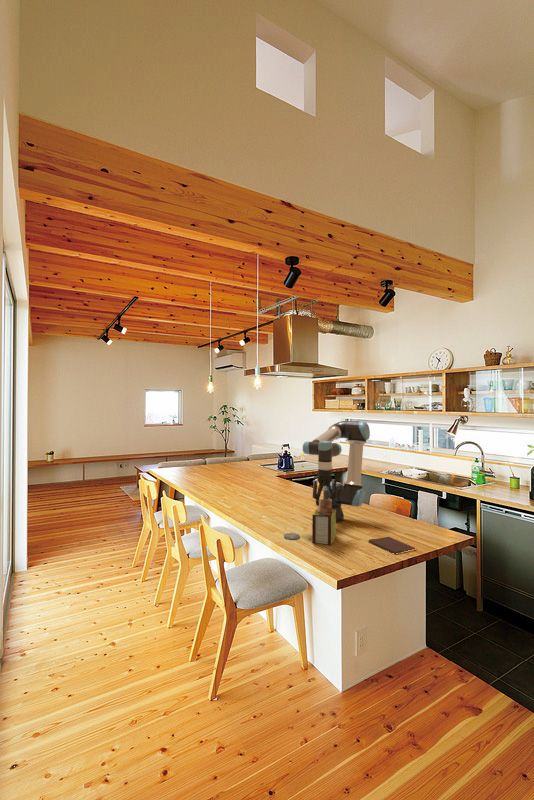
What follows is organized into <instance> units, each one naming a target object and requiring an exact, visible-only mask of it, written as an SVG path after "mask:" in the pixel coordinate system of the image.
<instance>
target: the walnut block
mask: <svg viewBox="0 0 534 800" xmlns="http://www.w3.org/2000/svg"><path fill="white" fill-rule="evenodd" d="M320 500H321V502H320V513H332V502H331V501H330V500H328V499H321V498H320Z"/></svg>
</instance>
